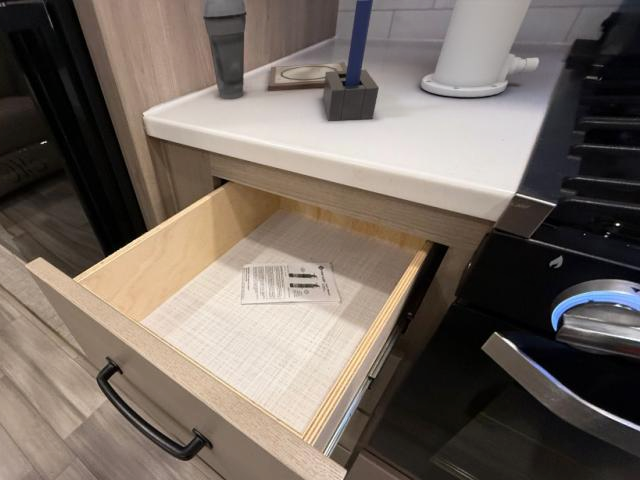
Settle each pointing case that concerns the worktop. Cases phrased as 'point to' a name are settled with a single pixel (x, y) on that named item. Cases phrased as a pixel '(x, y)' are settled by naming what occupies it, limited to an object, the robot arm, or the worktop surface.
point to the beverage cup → (227, 44)
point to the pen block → (349, 97)
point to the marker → (358, 41)
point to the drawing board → (301, 76)
